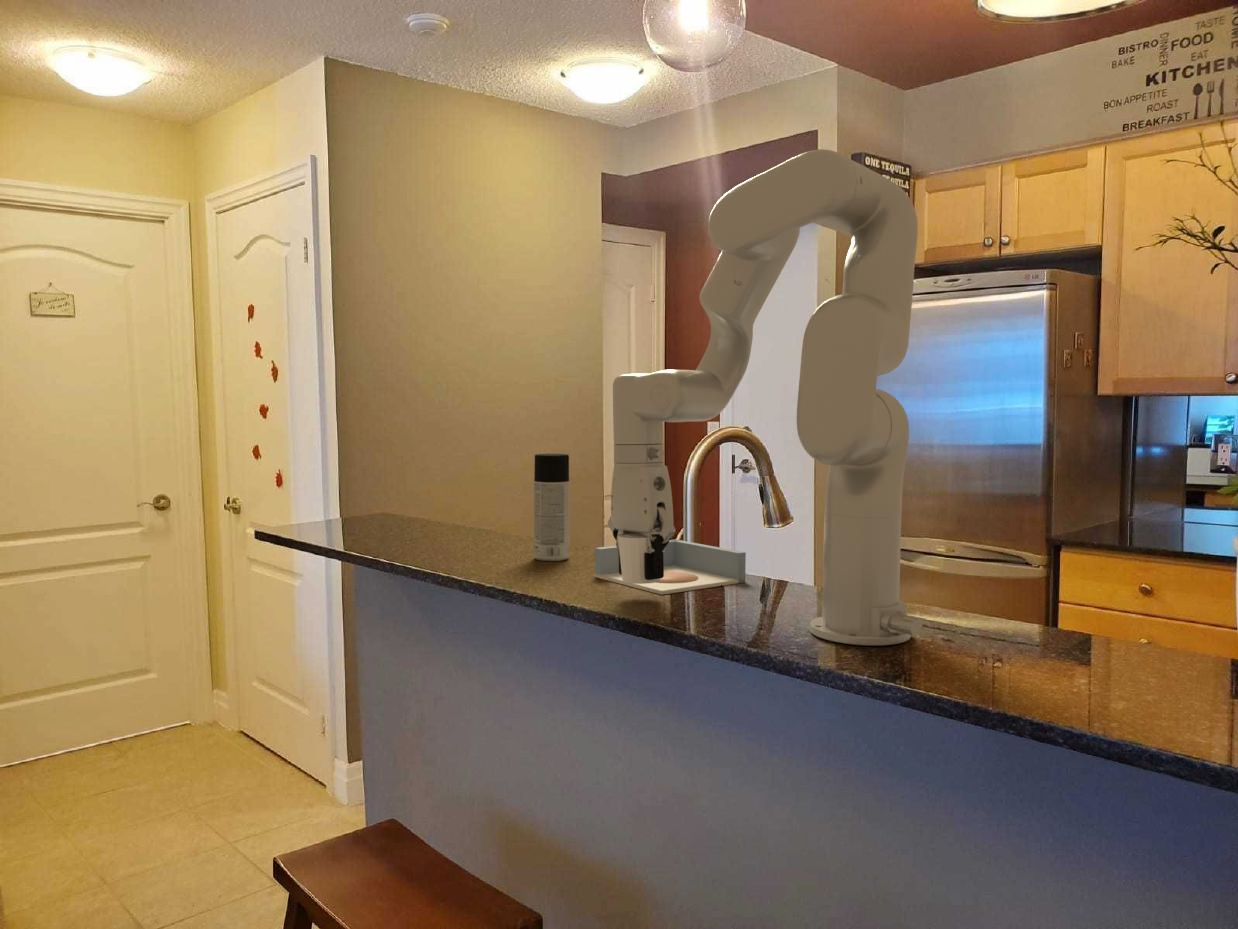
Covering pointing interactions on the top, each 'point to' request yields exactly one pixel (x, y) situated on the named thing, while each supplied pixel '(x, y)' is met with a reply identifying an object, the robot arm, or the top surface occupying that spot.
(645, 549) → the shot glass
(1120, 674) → the top surface
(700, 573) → the arena
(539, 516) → the spray can
